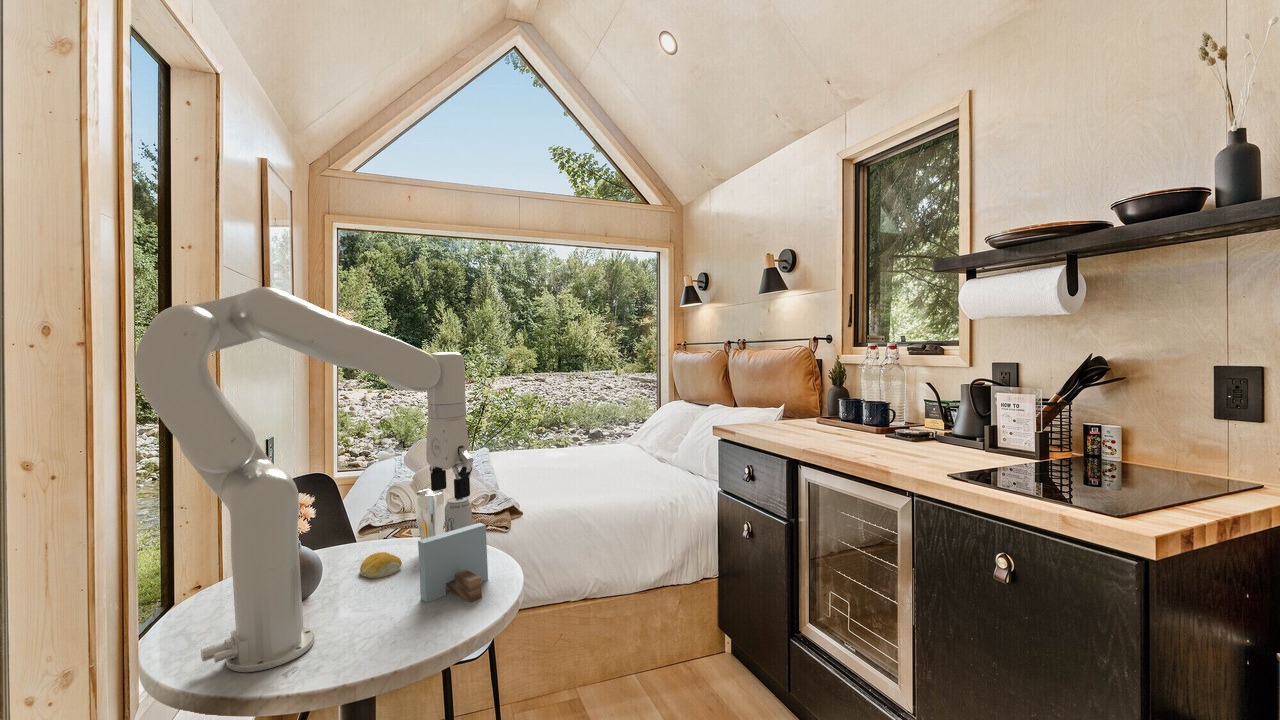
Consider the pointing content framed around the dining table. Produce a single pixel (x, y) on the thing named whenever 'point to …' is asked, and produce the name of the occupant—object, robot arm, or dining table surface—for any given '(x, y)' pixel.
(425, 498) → the shiny metal tumbler
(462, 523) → the energy drink can
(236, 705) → the dining table surface
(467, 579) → the brown wooden bar
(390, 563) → the bread roll
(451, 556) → the blue board
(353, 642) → the dining table surface
